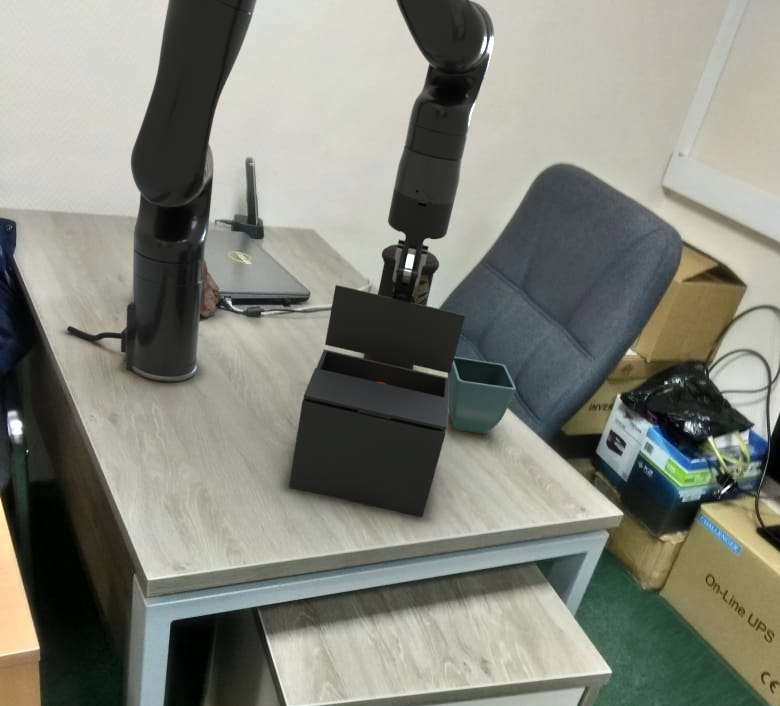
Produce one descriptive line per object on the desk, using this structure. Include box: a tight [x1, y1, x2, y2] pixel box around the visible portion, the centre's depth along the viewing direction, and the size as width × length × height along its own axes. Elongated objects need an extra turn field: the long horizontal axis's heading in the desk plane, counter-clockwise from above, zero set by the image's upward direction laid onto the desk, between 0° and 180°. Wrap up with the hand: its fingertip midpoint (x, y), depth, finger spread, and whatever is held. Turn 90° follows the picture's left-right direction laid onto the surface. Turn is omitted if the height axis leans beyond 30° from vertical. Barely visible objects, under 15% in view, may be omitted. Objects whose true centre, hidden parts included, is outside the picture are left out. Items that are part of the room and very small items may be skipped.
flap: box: [324, 284, 466, 374], centre depth 104 cm, size 17×8×1 cm
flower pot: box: [446, 356, 517, 435], centre depth 121 cm, size 9×9×9 cm
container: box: [363, 244, 440, 370], centre depth 129 cm, size 9×9×20 cm
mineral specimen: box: [200, 259, 221, 318], centre depth 135 cm, size 12×13×15 cm
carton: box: [288, 349, 449, 518], centre depth 103 cm, size 17×16×13 cm
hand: (396, 325), depth 107 cm, fingers closed
